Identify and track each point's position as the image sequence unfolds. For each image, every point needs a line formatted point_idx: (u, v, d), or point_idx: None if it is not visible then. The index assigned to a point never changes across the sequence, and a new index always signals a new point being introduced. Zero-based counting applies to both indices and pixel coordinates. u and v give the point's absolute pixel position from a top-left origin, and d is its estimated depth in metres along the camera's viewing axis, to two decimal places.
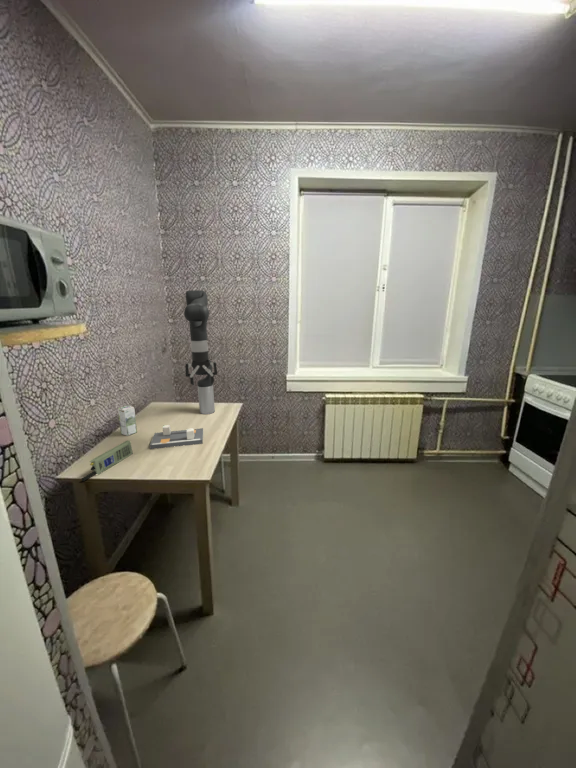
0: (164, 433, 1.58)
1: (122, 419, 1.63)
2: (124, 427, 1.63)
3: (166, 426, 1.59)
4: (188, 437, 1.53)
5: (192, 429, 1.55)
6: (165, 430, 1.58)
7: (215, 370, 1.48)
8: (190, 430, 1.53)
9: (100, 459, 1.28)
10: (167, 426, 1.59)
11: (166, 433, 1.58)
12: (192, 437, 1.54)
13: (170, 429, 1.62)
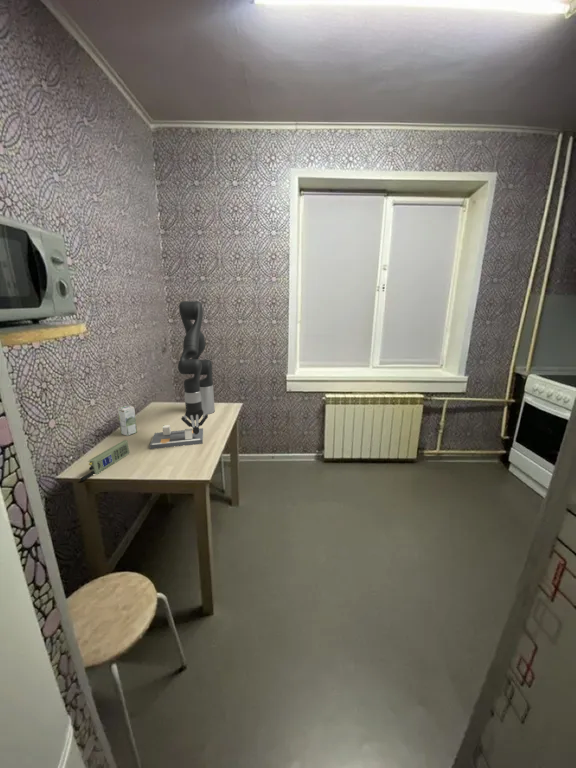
0: (164, 433, 1.58)
1: (122, 419, 1.63)
2: (124, 427, 1.63)
3: (166, 426, 1.59)
4: (186, 437, 1.53)
5: (190, 429, 1.55)
6: (165, 430, 1.58)
7: (202, 422, 1.54)
8: (188, 431, 1.53)
9: (98, 459, 1.28)
10: (167, 426, 1.59)
11: (166, 433, 1.58)
12: (190, 437, 1.54)
13: (170, 429, 1.62)
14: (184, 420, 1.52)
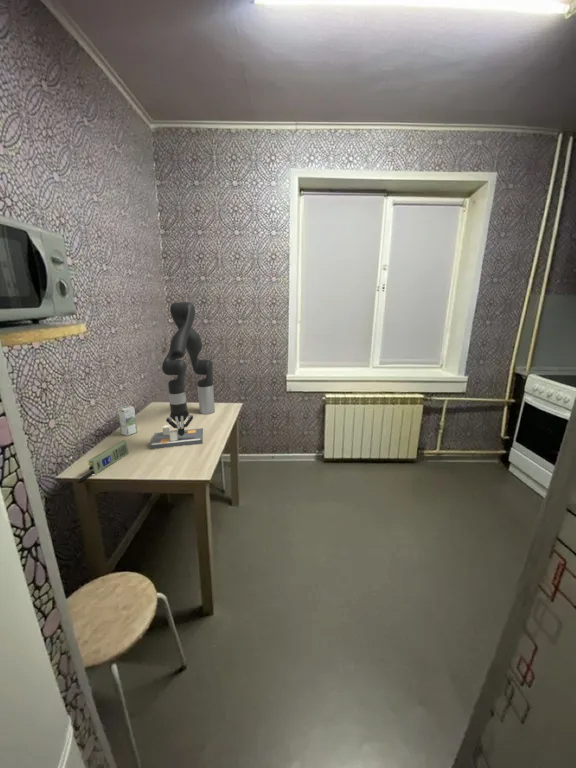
0: (164, 433, 1.58)
1: (122, 419, 1.63)
2: (124, 427, 1.63)
3: (166, 426, 1.59)
4: (171, 439, 1.52)
5: (175, 431, 1.53)
6: (165, 430, 1.58)
7: (187, 423, 1.52)
8: (173, 432, 1.52)
9: (98, 459, 1.28)
10: (167, 426, 1.59)
11: (166, 433, 1.58)
12: (175, 439, 1.52)
13: (170, 429, 1.62)
14: (169, 421, 1.50)
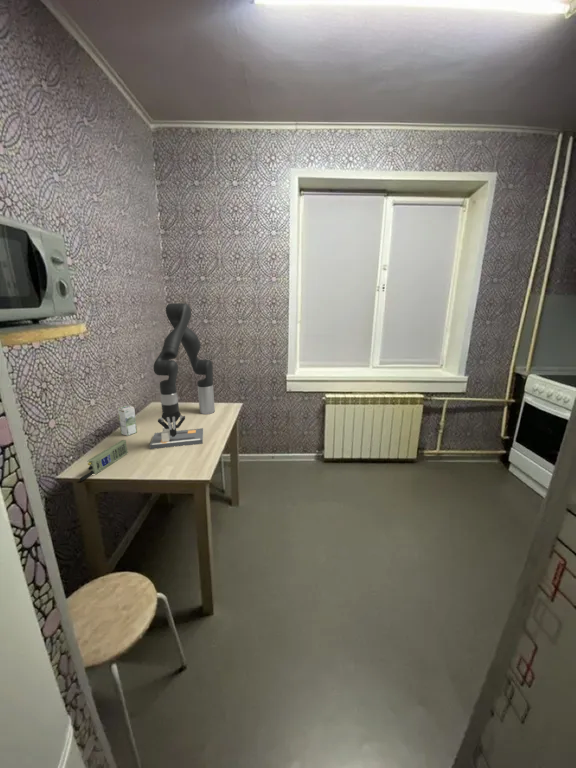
0: None
1: (122, 419, 1.63)
2: (124, 427, 1.63)
3: None
4: (163, 440, 1.51)
5: (167, 431, 1.53)
6: (165, 430, 1.58)
7: (179, 424, 1.51)
8: (165, 433, 1.51)
9: (97, 459, 1.28)
10: None
11: None
12: (167, 440, 1.51)
13: None
14: (160, 422, 1.49)
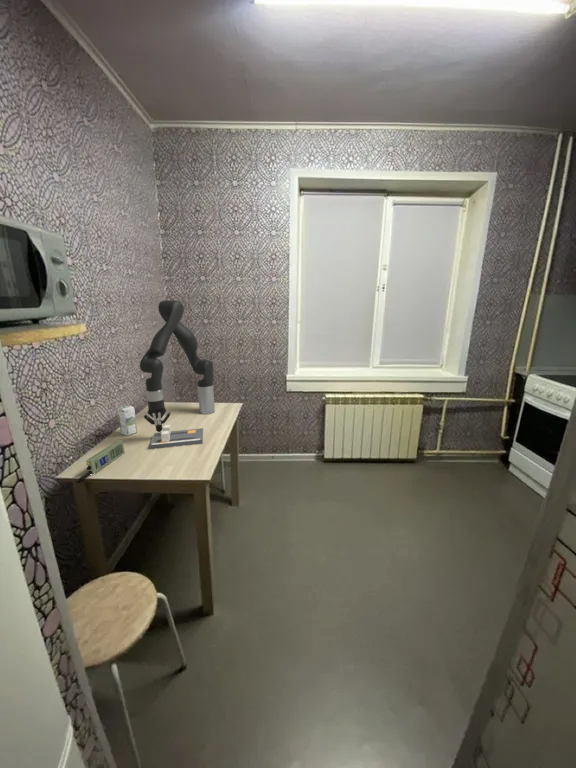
0: None
1: (122, 419, 1.63)
2: (124, 427, 1.63)
3: (166, 426, 1.59)
4: (163, 440, 1.51)
5: (167, 431, 1.53)
6: (165, 430, 1.58)
7: (165, 419, 1.57)
8: (165, 433, 1.51)
9: (96, 458, 1.28)
10: (167, 426, 1.59)
11: None
12: (167, 440, 1.51)
13: (170, 429, 1.62)
14: (146, 418, 1.55)
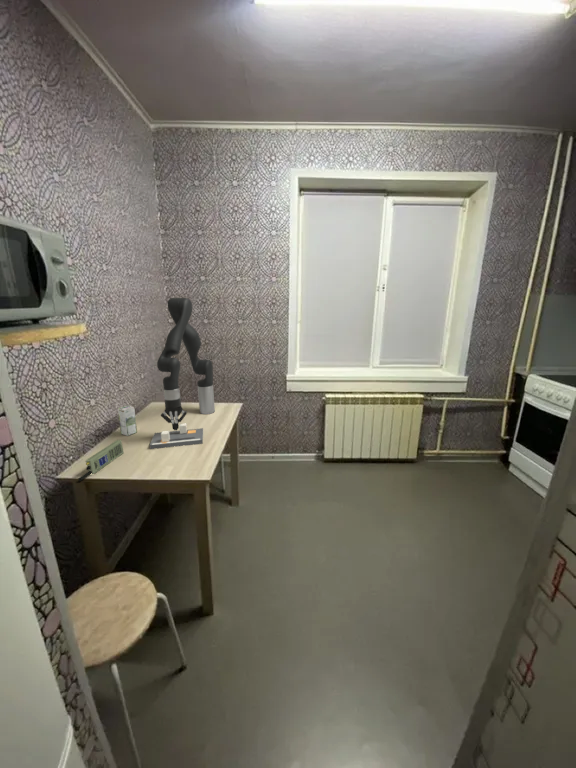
0: (181, 431, 1.60)
1: (122, 419, 1.63)
2: (124, 427, 1.63)
3: (183, 424, 1.61)
4: (163, 440, 1.51)
5: (167, 431, 1.53)
6: (182, 428, 1.60)
7: (181, 418, 1.59)
8: (165, 433, 1.51)
9: (95, 458, 1.28)
10: (184, 424, 1.61)
11: (182, 431, 1.60)
12: (167, 440, 1.51)
13: (186, 427, 1.63)
14: (163, 416, 1.57)
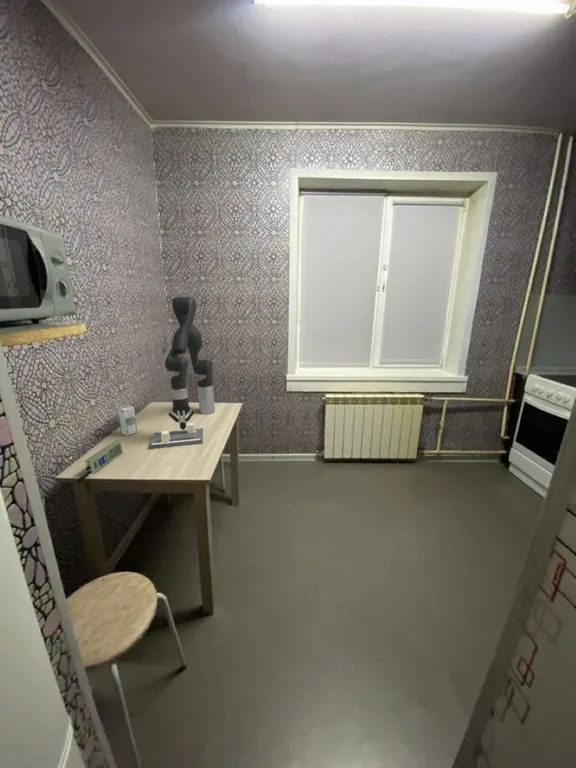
0: (188, 431, 1.61)
1: (122, 419, 1.63)
2: (124, 427, 1.63)
3: (190, 424, 1.62)
4: (163, 440, 1.51)
5: (167, 431, 1.53)
6: (189, 427, 1.61)
7: (189, 417, 1.60)
8: (165, 433, 1.51)
9: (95, 458, 1.28)
10: (191, 424, 1.62)
11: (190, 431, 1.61)
12: (167, 440, 1.51)
13: None
14: (171, 416, 1.58)
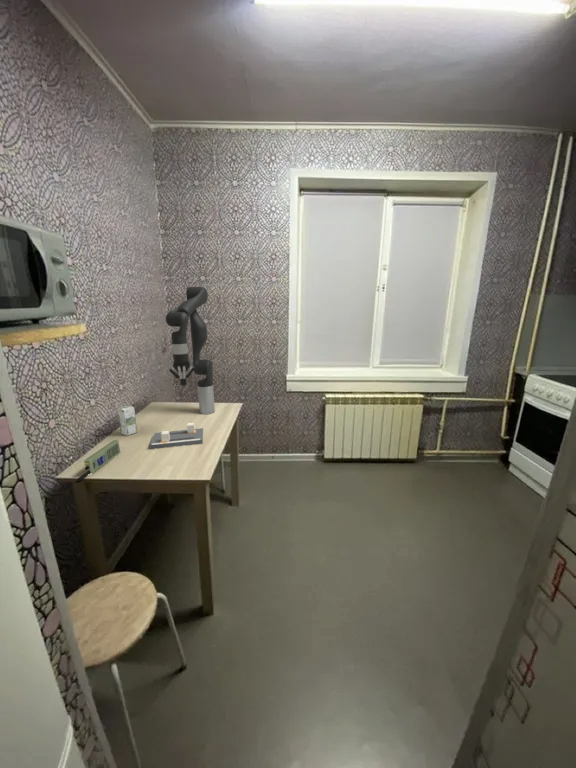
0: (188, 431, 1.61)
1: (122, 419, 1.63)
2: (124, 427, 1.63)
3: (190, 424, 1.62)
4: (163, 440, 1.51)
5: (167, 431, 1.53)
6: (189, 427, 1.61)
7: (189, 374, 1.62)
8: (165, 433, 1.51)
9: (93, 458, 1.28)
10: (191, 424, 1.62)
11: (190, 430, 1.61)
12: (167, 440, 1.51)
13: None
14: (172, 371, 1.60)
